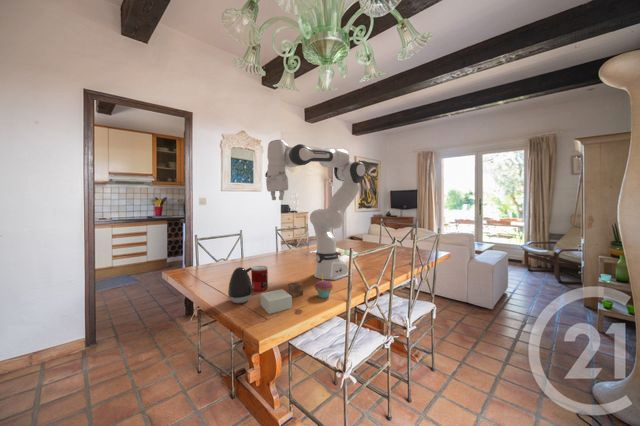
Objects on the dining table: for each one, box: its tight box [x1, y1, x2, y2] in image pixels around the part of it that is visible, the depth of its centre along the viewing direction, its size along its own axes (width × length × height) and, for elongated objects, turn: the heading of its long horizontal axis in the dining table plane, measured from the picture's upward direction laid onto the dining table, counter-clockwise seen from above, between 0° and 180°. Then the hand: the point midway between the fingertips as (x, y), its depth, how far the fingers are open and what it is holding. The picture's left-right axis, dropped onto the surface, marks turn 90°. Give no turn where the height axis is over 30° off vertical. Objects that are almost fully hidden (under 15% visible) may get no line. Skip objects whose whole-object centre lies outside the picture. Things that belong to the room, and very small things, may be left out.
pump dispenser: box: [227, 266, 253, 304], centre depth 112 cm, size 10×10×15 cm
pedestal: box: [260, 288, 293, 315], centre depth 106 cm, size 10×10×5 cm
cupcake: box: [314, 273, 334, 299], centre depth 117 cm, size 9×8×12 cm
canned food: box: [250, 265, 269, 293], centre depth 127 cm, size 8×8×11 cm
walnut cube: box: [287, 281, 304, 298], centre depth 120 cm, size 5×5×5 cm
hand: (277, 200), depth 128 cm, fingers open, 8 cm apart
